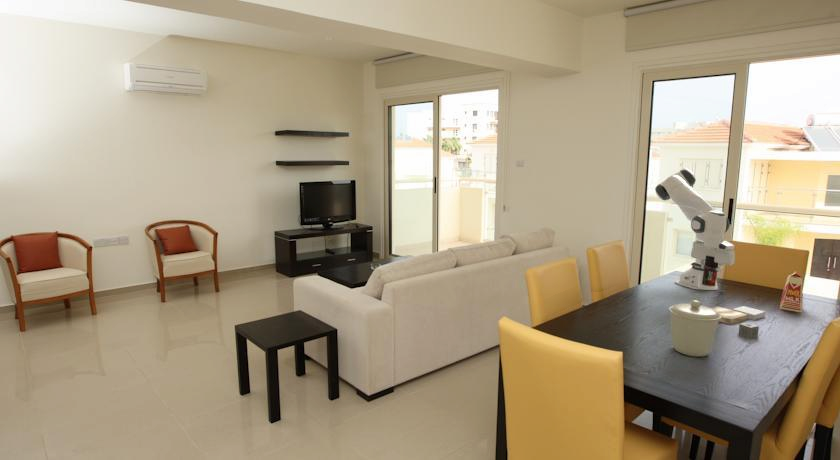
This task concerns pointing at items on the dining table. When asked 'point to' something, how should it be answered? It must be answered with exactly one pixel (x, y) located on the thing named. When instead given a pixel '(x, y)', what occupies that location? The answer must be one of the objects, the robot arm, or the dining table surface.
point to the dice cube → (748, 330)
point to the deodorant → (709, 271)
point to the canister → (693, 328)
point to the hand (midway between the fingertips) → (710, 270)
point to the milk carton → (792, 294)
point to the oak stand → (730, 315)
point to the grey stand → (751, 312)
